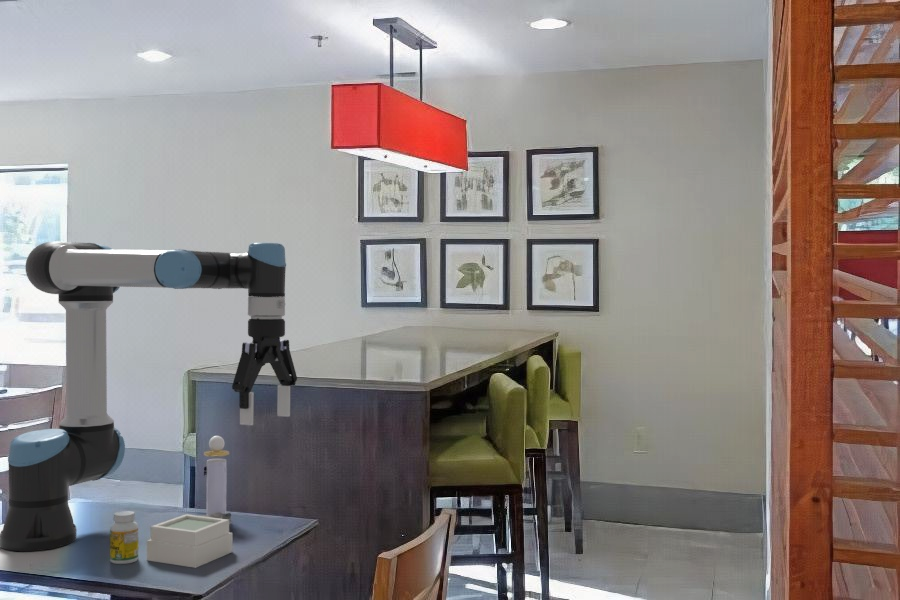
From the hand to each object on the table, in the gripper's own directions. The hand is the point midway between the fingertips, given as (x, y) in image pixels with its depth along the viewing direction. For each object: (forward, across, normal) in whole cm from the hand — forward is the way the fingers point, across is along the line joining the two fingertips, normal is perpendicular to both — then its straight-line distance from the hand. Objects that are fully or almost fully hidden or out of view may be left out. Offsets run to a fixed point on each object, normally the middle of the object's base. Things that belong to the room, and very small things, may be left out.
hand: (265, 420), depth 192 cm
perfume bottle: (+28, +18, +26) cm, 42 cm away
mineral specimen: (+28, +8, +22) cm, 36 cm away
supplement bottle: (+28, -16, +23) cm, 39 cm away
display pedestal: (+28, -8, +13) cm, 31 cm away
